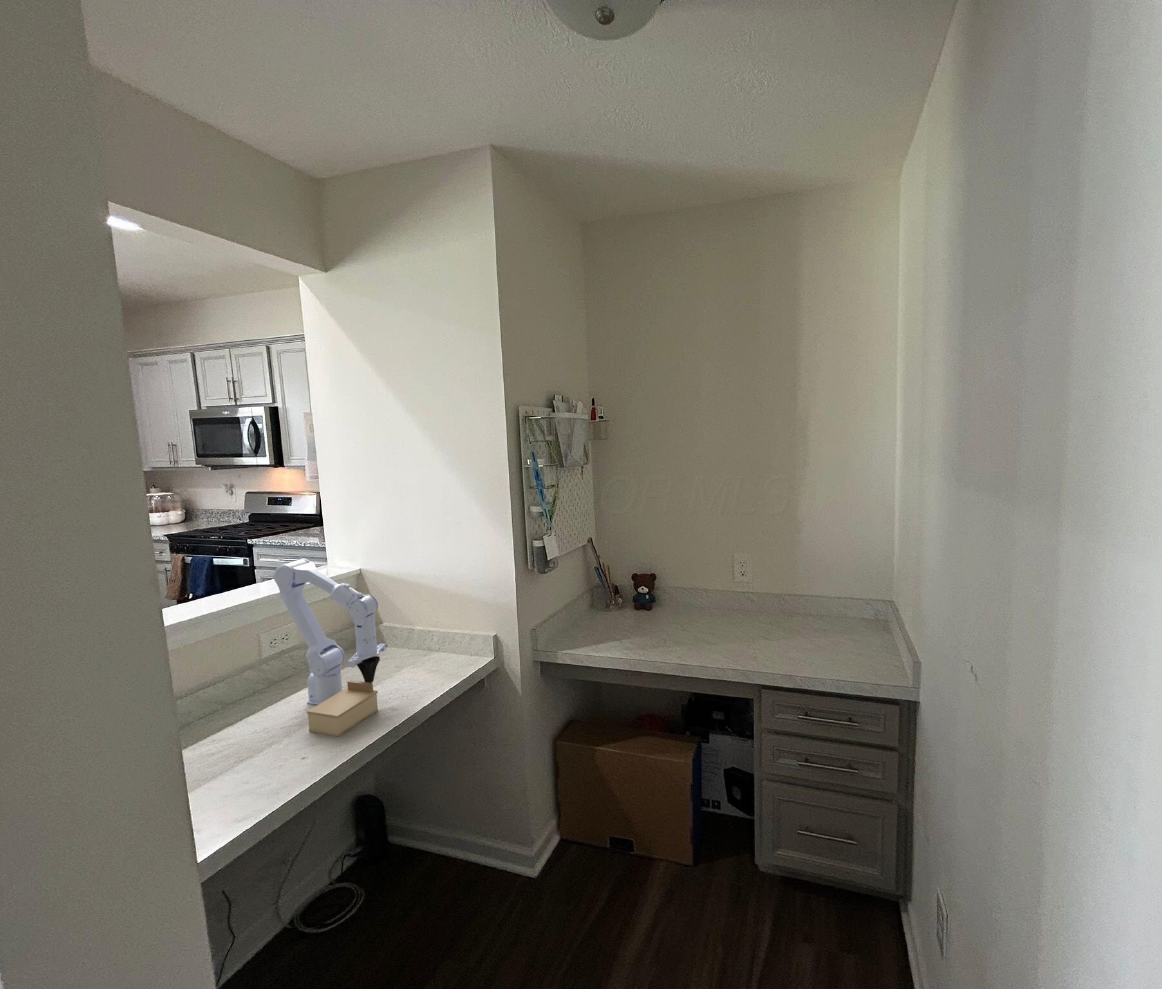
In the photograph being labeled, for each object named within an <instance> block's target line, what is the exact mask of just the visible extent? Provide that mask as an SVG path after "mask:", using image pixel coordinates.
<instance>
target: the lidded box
mask: <svg viewBox="0 0 1162 989" xmlns="http://www.w3.org/2000/svg"><path fill="white" fill-rule="evenodd" d="M378 706H379V705H378V693H377V694H375V695H374V696H372V697H371V698H369V699H367V700H366V701H364V702H363V703H361V704H359V705H358V706H356V707H355V708H353V709H351V710H350V711H348V712H347V713H345V714H344V715H342V716H340V717H339V718H333V717H327V716H321V715H315V714H308V713H307V718H308V719H307V720H308V730H309V731H308V732H311V733H317V734H322V735H323V734H324V735H329V736H335V737H340V736H342V735H343V734H345V733H346V732H348V731H349V730H351V729H352V728H354V727H356V726H357V725H359V724H360V723H362V722H363V721H365V720H366V719H367V718H369V717H370V716H372V715H374V713H376V712H378V708H379V707H378Z"/></svg>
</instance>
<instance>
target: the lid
mask: <svg viewBox="0 0 1162 989" xmlns="http://www.w3.org/2000/svg"><path fill="white" fill-rule="evenodd" d="M375 694H377V695H378V690H374V685H373V682H372V683H368V682H365V681H359V680H352V679H351V680H350V679H349V680H348V681H347V687H346V688H344V689H342V691H341V692H339V693H337V694H335V695H334V696H332V697H330V698H328V699H327V700H325V701H323V702H322V703H320V704H318V705H315V706H313V707H311V708H310V709H308V710H307V711H306V714H307V715H308V714H315V715H321V716H327V717H333V718H339V717H340V716H342V715H344V714H345V713H347V712H348V711H350V710H351V709H353V708H355V707H356V706H358V705H359V704H361V703H363V702H364V701H366V700H367V699H369V698H371V697H372V696H374V695H375Z"/></svg>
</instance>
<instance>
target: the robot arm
mask: <svg viewBox="0 0 1162 989" xmlns="http://www.w3.org/2000/svg"><path fill="white" fill-rule="evenodd" d="M273 580H274V582H275V584H276V586H277V587H278V590H279V595H280V598H281V599H282V602H283V603H284V605H285V606H286V608H287V611H288V612H289V614H290V616H291V618H292V620H293V622H294V623H295V625H296V626H297V629H298V630H299V632H300V634H301V636H302V638H303V640H304V641H305V642H306V645H307V647H308V648H307V651H306V655H305V658H306V660H307V662H308V663H307V664H308V669H309V671H310V672H311V673H309V676H308V678H307V682H306V683H307V684H306V685H307V695H308V700H307V701H306V703H307V704H311V705H315V706H316V705H318V704H320V703H322V702H323V701H325V700H327V699H328V698H330V697H332V696H334V695H335V694H337V693H339V692H341V691H342V690H343V680H342V668H343V664H344V663H345V661H346V653H345V651H344V650H343V648H342V647H341V646H339V645H338V644H337V642H336V640H334V639H332V638H328V637H327V636H326V634H325V632H324V630H323V628H322V627H321V625H320V623H319V622H318V620H317V617H316V616H315V614H314V613H313V610H312V609H311V607H310V605H309V603H308V602H307V600H306V598H305V596H304V595H303V591H304V589H305V588H304V587H305V586H306V584H307V583H309V584H311V585H313V586H314V587H317V588H318V589H321V590H322V591H325V592H326V593H329V595H330V597H331V599H332V601H334V602H335V603H337V604H338V605H340V606H342V607H343V608H344V609H347V610H348V612H349V615H350V617H351V618H352V621H353V623H352V624H354V632H355V634H354V635H355V647H356V653H354V655H353V656H352V657H351V658H350V659H349V658H348V660H347V668H356V667H357V668H358V669H359V670H360V672H361V675H362V677H363V682H368V683H373V682H374V681H375V680H374V679H375V676H376V670H377V666H378V665H379V662H380V660H381V658H380V655H381V652H385V651H386V643H379V644H377V629H376V628H377V627H376V615H375V613H376V612H378V611H377V610H378V608H379V603H378V600H377V598H376V597H374V596H373V595H372V594H364V593H362V592H360V591H357V590H355V589H354V588H353V587H351V584H349V583H345V582H343V583H340V584H339V583H338V582H336V581H334V580H333V579H331V578H330V577H329V576H327V575H326V574H325V573H323V572H322V571H321V570H320V569H318V568H317V567H316V564H315V563H313V562H312V561H310V560H308V559H307V558H299V559H298V560H294V561H292V562H288V563H285V564H284V563H283V564H280V565H278V566H277V567H276V569H275V572H274V576H273Z"/></svg>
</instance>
